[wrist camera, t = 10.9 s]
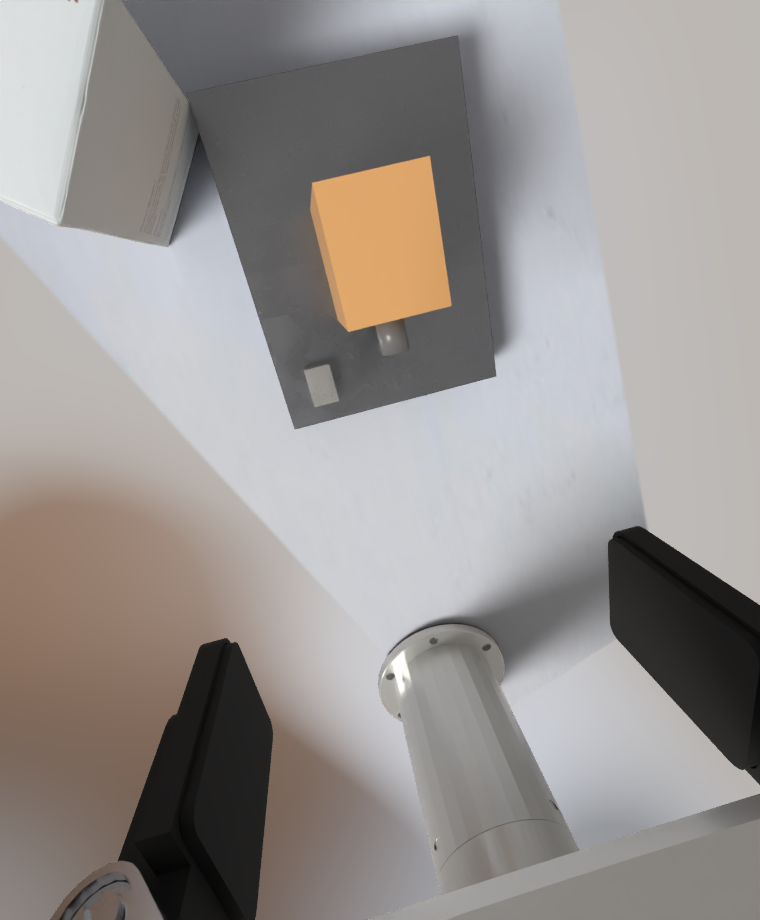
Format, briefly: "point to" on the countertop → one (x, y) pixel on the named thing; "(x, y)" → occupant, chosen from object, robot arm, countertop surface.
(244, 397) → the countertop surface
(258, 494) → the countertop surface
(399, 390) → the dark gray rectangular board
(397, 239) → the orange block
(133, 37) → the supplement box
